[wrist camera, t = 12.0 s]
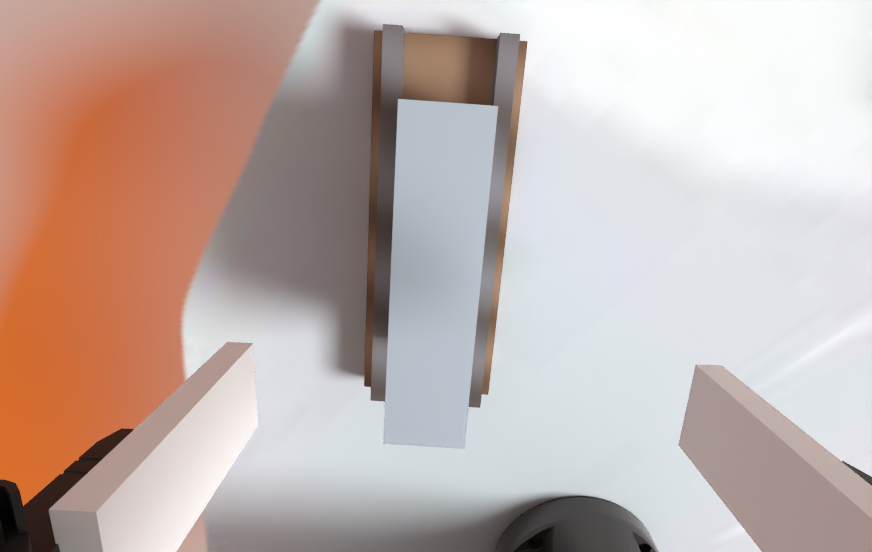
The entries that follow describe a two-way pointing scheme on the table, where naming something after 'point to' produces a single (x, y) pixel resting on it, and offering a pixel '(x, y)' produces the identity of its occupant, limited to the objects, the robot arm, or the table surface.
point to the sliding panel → (436, 268)
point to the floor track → (395, 79)
